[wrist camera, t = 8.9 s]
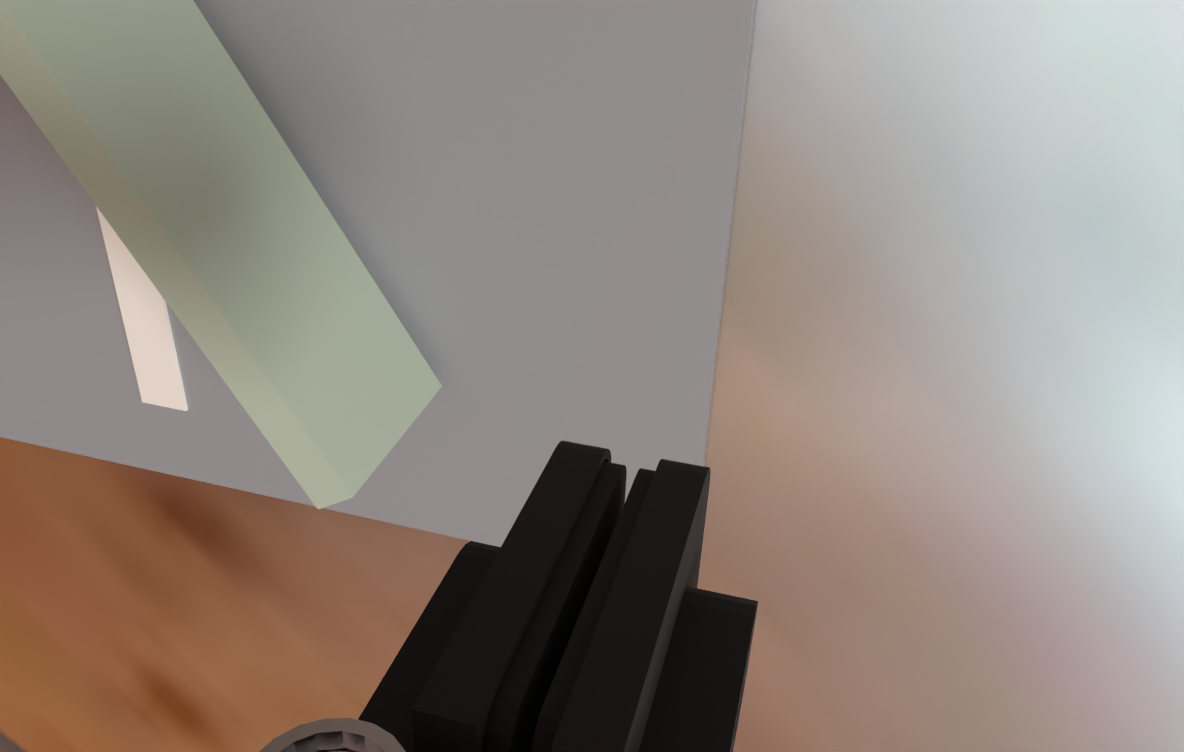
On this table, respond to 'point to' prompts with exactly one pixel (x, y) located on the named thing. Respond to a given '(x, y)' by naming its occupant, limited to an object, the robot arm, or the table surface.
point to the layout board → (426, 246)
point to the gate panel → (222, 226)
